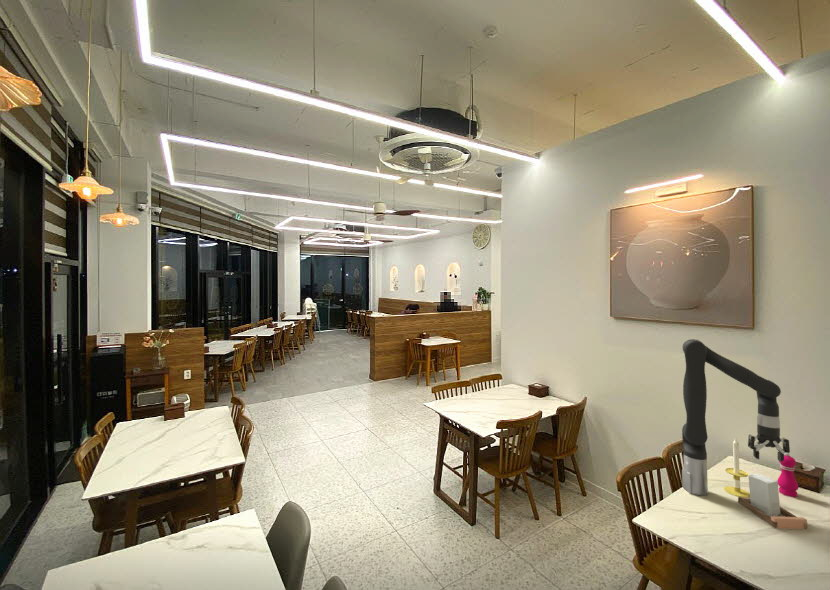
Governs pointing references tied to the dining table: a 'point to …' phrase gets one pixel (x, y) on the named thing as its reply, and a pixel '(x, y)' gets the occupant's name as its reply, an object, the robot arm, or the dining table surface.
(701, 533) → the dining table surface
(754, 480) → the skincare box
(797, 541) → the dining table surface
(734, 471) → the candle
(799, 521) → the stop block
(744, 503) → the guide channel
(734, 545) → the dining table surface
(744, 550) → the dining table surface
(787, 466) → the pepper mill
